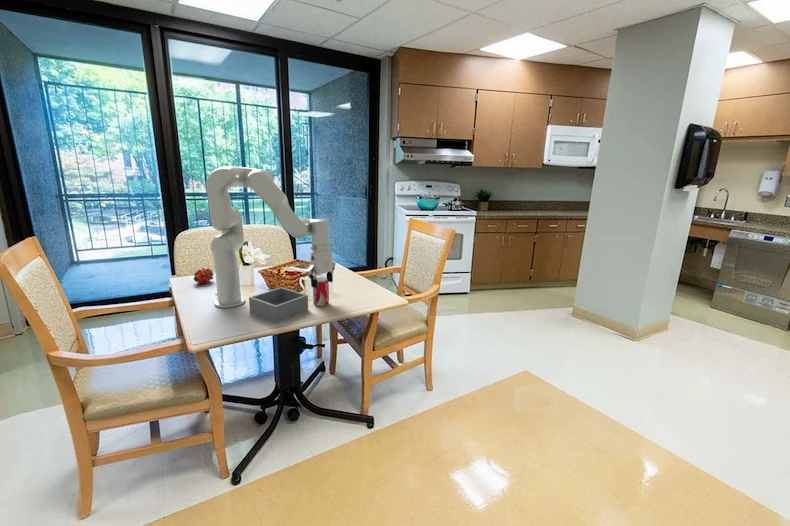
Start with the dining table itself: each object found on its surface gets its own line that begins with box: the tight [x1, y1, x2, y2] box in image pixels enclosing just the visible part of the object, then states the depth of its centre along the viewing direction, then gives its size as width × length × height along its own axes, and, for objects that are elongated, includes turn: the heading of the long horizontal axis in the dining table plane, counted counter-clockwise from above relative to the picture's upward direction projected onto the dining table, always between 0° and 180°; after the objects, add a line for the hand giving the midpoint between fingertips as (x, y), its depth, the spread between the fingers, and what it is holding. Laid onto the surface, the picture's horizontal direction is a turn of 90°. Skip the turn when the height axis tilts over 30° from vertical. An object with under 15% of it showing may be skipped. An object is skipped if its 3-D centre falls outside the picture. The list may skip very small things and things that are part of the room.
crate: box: [248, 286, 309, 324], centre depth 156 cm, size 17×17×7 cm
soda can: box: [312, 277, 330, 307], centre depth 165 cm, size 7×7×12 cm
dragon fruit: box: [193, 267, 215, 285], centre depth 188 cm, size 8×8×12 cm
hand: (322, 284), depth 164 cm, fingers open, 9 cm apart
